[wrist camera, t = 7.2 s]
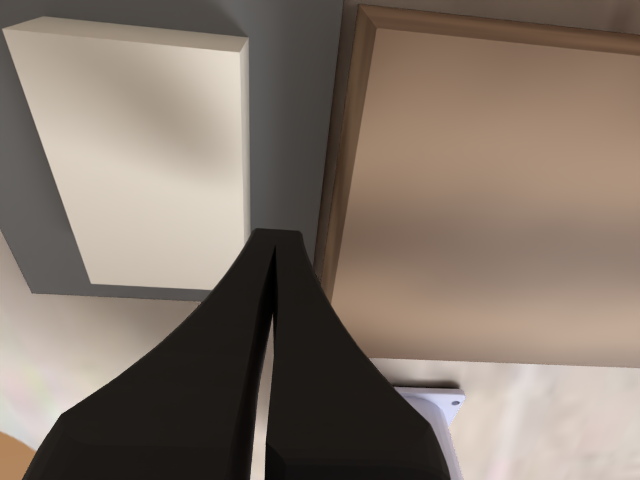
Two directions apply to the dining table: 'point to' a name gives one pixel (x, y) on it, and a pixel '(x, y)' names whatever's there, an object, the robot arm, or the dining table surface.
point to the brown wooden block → (488, 192)
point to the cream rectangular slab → (143, 144)
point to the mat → (264, 124)
